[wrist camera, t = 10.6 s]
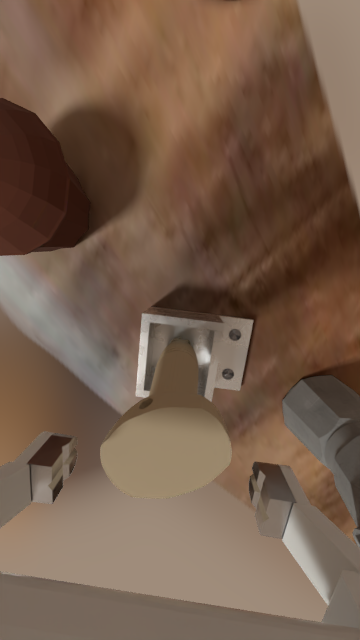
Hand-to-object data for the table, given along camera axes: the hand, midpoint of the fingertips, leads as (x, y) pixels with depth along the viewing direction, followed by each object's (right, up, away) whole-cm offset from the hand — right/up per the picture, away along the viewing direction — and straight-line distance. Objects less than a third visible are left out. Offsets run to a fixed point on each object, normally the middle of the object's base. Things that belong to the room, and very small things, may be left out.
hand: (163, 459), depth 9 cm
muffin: (-13, +19, +14) cm, 27 cm away
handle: (+1, +3, +15) cm, 16 cm away
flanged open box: (+3, +3, +16) cm, 16 cm away
